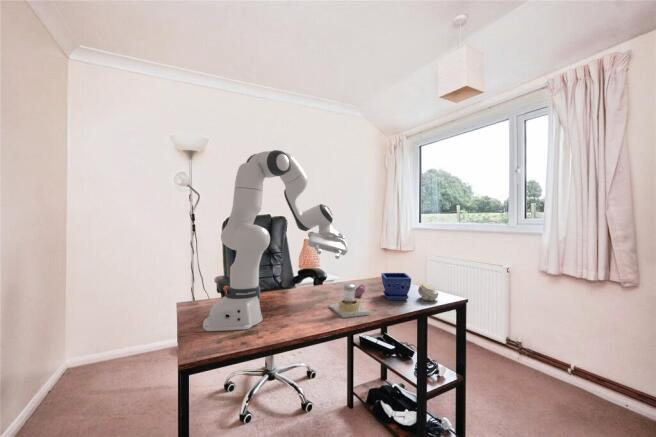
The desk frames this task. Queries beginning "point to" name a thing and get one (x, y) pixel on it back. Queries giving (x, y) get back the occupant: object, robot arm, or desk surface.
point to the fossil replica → (427, 292)
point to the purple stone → (360, 290)
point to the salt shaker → (349, 293)
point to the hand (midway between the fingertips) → (328, 255)
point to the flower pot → (396, 285)
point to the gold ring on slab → (349, 309)
